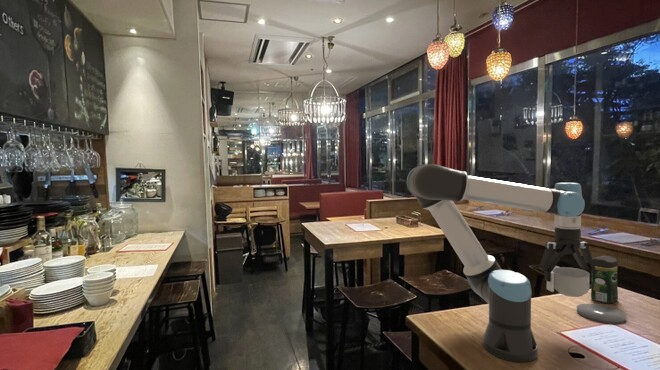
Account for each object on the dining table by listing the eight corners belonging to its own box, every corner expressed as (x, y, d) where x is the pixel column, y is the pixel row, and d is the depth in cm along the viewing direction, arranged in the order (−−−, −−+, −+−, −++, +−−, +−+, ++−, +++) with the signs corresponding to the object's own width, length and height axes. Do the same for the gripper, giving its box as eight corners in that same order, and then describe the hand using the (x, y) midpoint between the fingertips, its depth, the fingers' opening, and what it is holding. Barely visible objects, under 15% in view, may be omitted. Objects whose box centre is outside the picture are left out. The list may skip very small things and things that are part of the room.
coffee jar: (598, 295, 149) (599, 253, 149) (620, 300, 142) (621, 256, 142) (587, 299, 145) (587, 256, 144) (609, 305, 138) (609, 260, 137)
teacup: (596, 300, 111) (596, 276, 110) (559, 298, 113) (559, 274, 113) (575, 286, 124) (575, 264, 124) (542, 284, 126) (542, 263, 126)
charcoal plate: (596, 324, 122) (596, 320, 122) (567, 307, 137) (567, 304, 136) (636, 322, 122) (637, 318, 122) (603, 306, 137) (603, 303, 137)
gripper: (541, 229, 114) (540, 294, 115) (609, 228, 114) (608, 293, 115) (527, 226, 121) (526, 286, 122) (592, 225, 122) (591, 285, 122)
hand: (566, 290), depth 119 cm, fingers closed on teacup, 11 cm apart
